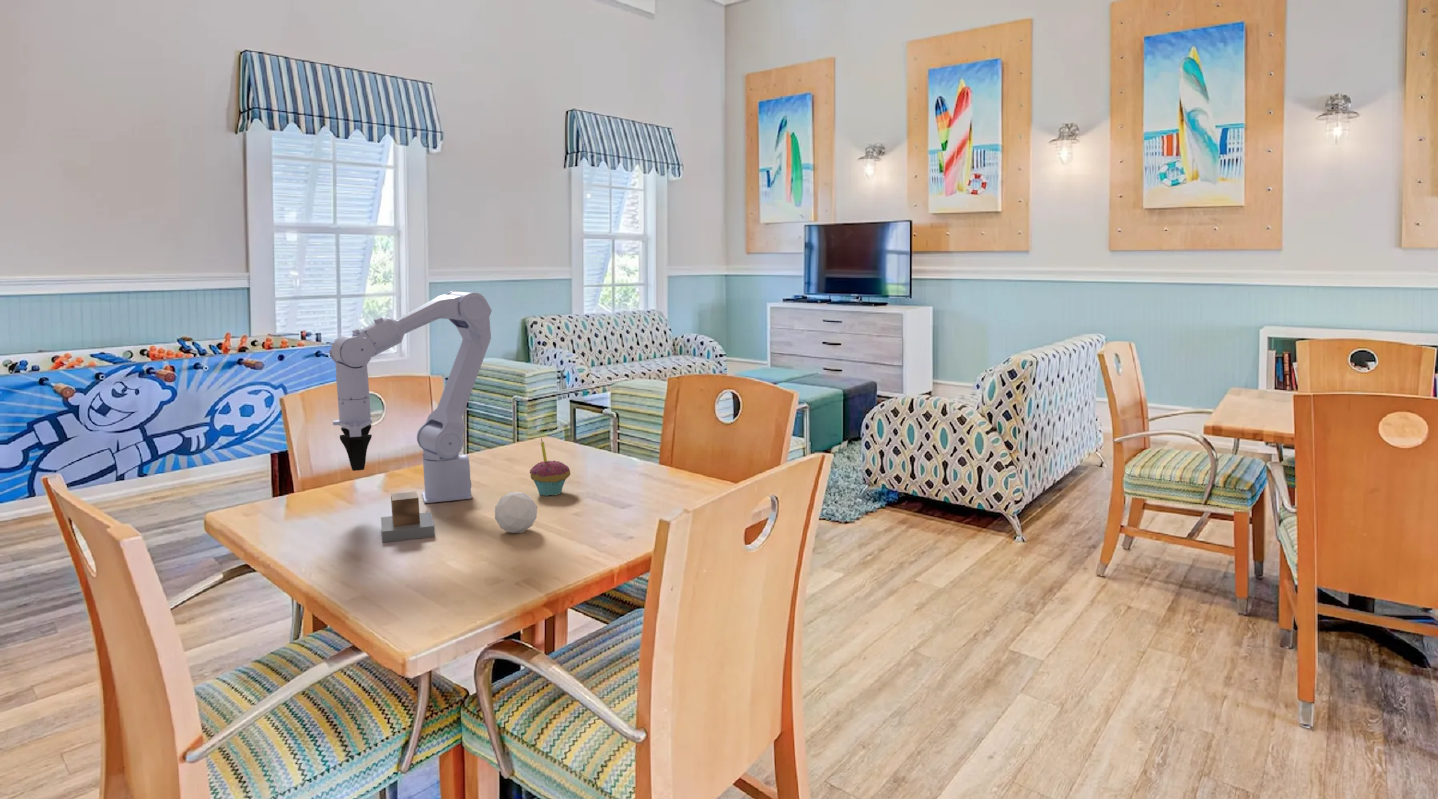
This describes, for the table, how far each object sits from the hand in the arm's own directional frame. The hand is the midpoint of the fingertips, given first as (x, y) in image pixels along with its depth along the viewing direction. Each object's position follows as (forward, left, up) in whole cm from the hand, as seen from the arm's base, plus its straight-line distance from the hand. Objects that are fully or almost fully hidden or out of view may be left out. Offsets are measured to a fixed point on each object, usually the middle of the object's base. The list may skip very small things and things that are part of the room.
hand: (358, 465), depth 170 cm
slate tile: (-8, +15, -10) cm, 20 cm away
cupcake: (-38, -1, -10) cm, 39 cm away
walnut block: (-8, +15, -8) cm, 19 cm away
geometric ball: (-27, +22, -10) cm, 36 cm away
